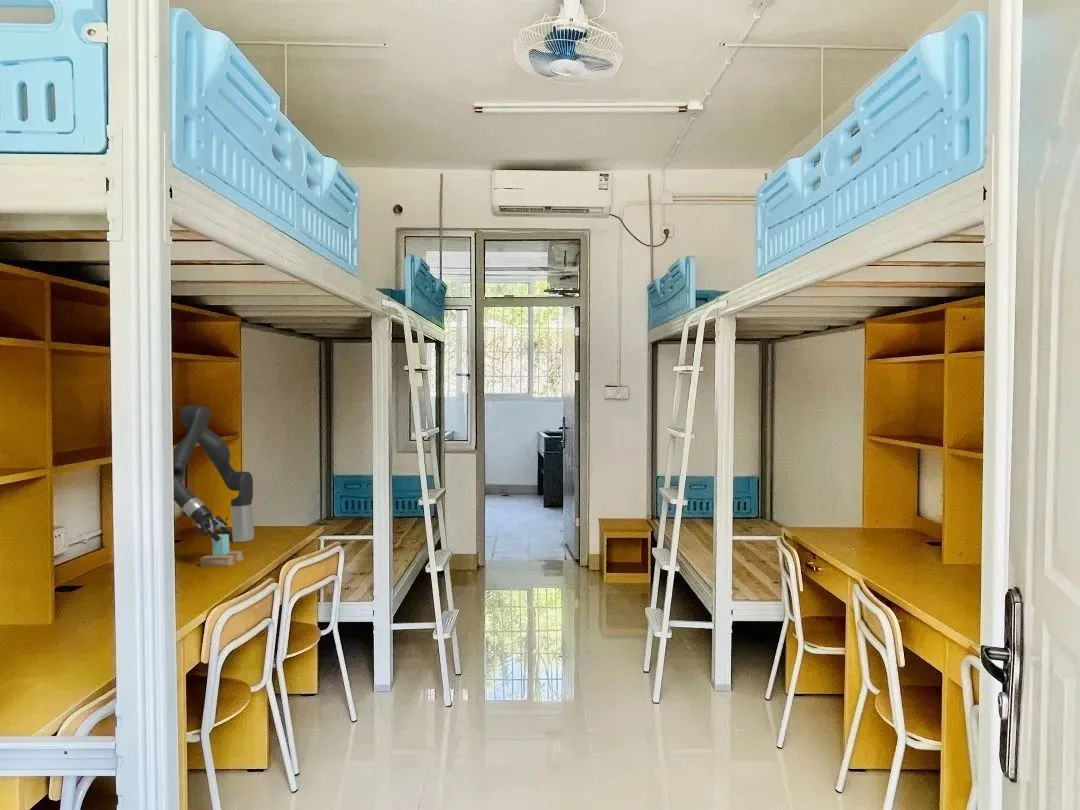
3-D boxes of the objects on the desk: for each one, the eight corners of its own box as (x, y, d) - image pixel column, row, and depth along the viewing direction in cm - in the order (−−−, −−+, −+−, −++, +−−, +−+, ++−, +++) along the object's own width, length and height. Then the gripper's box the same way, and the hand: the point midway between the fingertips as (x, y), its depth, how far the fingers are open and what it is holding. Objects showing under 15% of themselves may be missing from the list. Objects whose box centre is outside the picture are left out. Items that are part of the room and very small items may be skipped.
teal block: (219, 553, 282) (218, 534, 282) (229, 552, 281) (228, 534, 281) (213, 555, 277) (211, 536, 277) (223, 555, 277) (222, 536, 277)
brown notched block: (217, 560, 286) (217, 550, 286) (243, 559, 285) (243, 550, 285) (200, 567, 274) (200, 558, 274) (228, 567, 273) (227, 558, 273)
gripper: (192, 507, 272) (220, 535, 272) (212, 501, 287) (239, 527, 286) (180, 520, 273) (208, 548, 272) (202, 513, 287) (228, 540, 287)
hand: (224, 537), depth 279 cm, fingers open, 7 cm apart
